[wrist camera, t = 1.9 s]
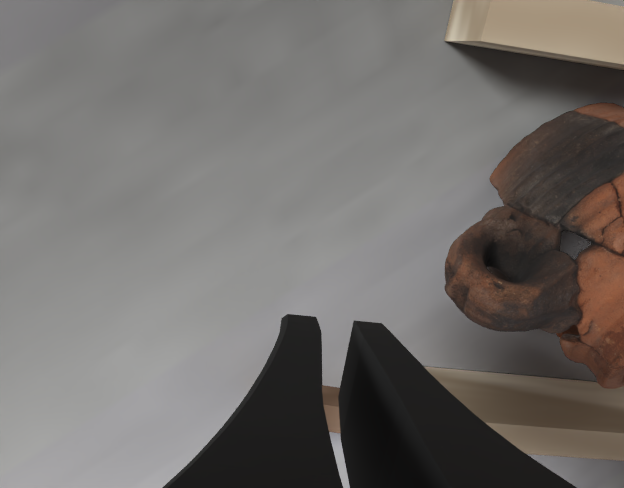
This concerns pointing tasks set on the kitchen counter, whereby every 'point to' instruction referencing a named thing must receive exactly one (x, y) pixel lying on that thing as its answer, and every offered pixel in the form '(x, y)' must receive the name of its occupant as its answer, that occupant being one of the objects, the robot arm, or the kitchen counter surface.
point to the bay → (530, 389)
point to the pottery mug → (553, 241)
